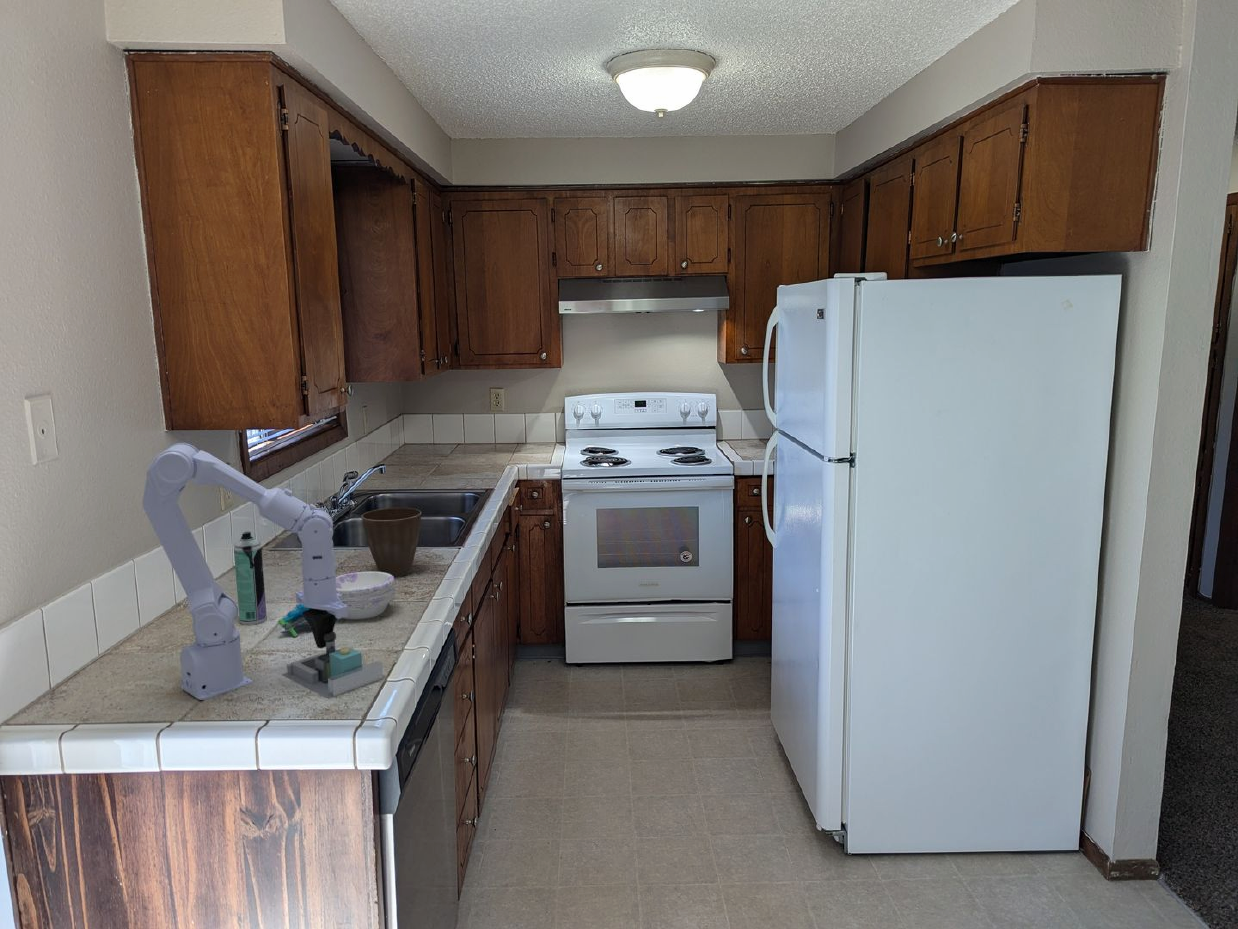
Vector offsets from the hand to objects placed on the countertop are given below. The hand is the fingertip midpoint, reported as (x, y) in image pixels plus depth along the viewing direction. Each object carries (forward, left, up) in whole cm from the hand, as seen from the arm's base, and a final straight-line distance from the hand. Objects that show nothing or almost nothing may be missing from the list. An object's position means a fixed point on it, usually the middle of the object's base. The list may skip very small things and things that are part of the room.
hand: (323, 646), depth 157 cm
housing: (0, -7, -5) cm, 9 cm away
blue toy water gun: (+9, +24, -6) cm, 27 cm away
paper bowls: (+23, +23, -6) cm, 33 cm away
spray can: (+5, +37, -5) cm, 38 cm away
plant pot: (+46, +43, -5) cm, 64 cm away
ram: (0, -3, -5) cm, 6 cm away
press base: (0, -3, -5) cm, 6 cm away
